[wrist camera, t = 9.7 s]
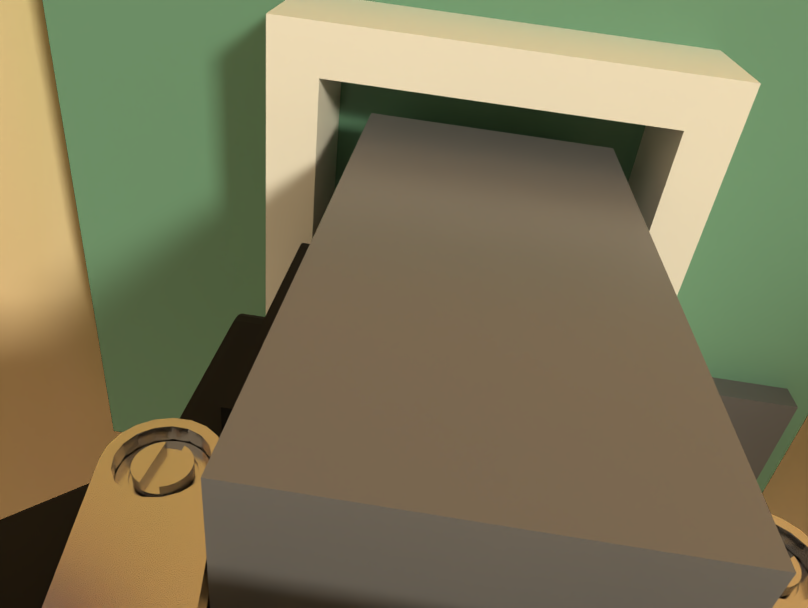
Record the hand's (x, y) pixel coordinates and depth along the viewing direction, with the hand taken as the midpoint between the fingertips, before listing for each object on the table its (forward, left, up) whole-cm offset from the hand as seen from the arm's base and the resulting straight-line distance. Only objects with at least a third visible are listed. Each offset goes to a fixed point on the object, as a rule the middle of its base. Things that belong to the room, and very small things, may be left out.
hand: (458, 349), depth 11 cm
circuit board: (0, 0, -4) cm, 4 cm away
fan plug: (0, +2, -2) cm, 3 cm away
